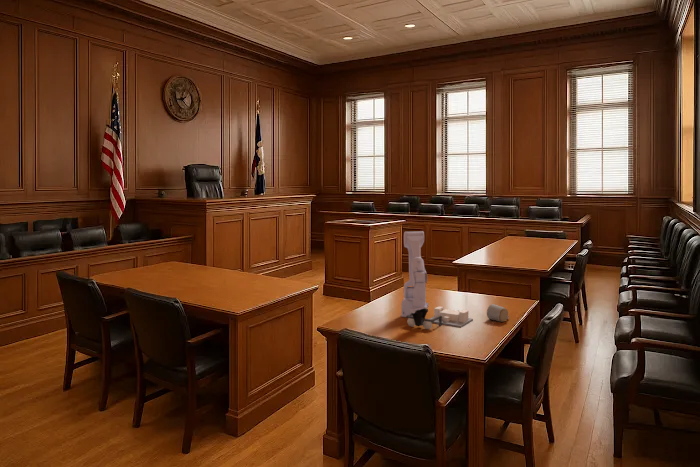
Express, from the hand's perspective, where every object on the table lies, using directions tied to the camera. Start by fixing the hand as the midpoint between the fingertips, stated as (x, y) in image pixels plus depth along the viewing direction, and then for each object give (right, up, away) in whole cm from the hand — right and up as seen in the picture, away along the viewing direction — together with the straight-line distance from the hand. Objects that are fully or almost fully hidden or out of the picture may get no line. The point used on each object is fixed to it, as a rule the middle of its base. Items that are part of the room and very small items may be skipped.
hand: (419, 324), depth 242 cm
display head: (+17, 0, +11) cm, 20 cm away
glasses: (+3, -1, +4) cm, 5 cm away
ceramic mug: (+41, 0, +12) cm, 43 cm away
